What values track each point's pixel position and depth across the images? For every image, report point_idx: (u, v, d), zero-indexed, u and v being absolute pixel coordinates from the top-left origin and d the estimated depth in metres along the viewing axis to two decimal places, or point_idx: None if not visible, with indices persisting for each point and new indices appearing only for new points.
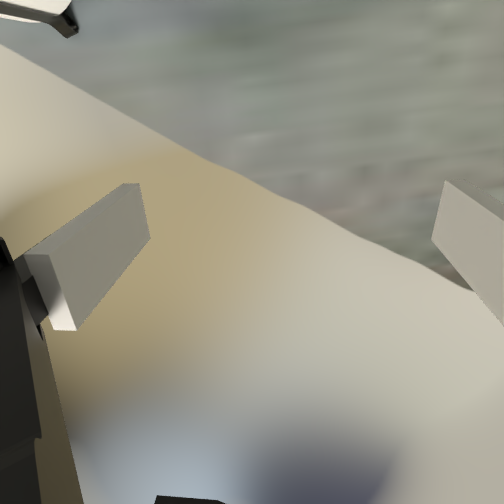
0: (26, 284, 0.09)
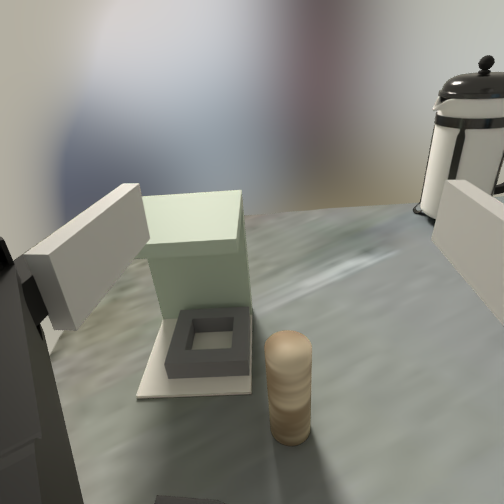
0: (26, 284, 0.09)
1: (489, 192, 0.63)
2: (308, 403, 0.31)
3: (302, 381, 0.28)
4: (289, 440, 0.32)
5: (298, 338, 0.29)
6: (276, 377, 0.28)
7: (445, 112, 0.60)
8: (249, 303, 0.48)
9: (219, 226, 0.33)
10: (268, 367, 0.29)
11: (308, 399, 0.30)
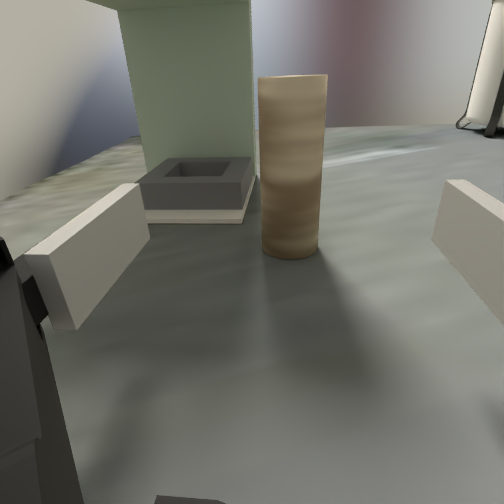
0: (26, 284, 0.09)
1: None
2: (317, 183, 0.21)
3: (309, 121, 0.19)
4: (286, 246, 0.23)
5: None
6: (271, 114, 0.19)
7: None
8: (252, 158, 0.39)
9: None
10: (261, 103, 0.19)
11: (317, 173, 0.21)
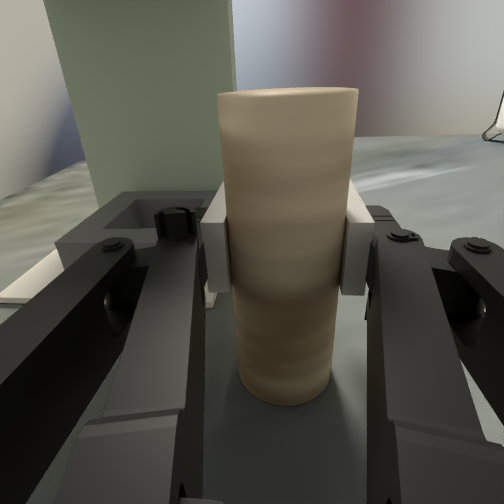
0: (201, 249, 0.11)
1: None
2: (333, 287, 0.11)
3: (322, 185, 0.09)
4: (278, 388, 0.13)
5: (318, 88, 0.10)
6: (243, 170, 0.09)
7: None
8: None
9: None
10: (224, 145, 0.10)
11: (335, 272, 0.11)
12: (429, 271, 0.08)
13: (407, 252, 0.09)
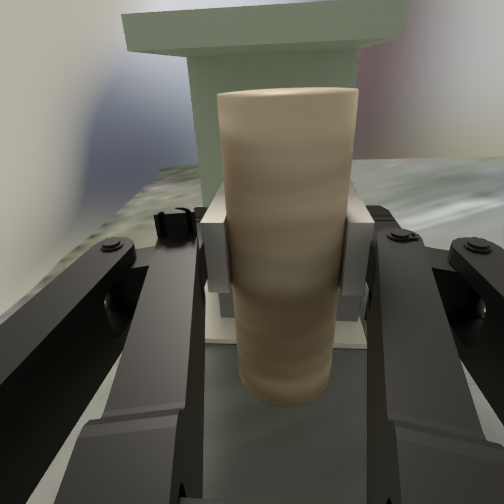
0: (201, 249, 0.11)
1: None
2: (333, 287, 0.11)
3: (322, 185, 0.09)
4: (279, 388, 0.13)
5: (318, 88, 0.10)
6: (243, 170, 0.09)
7: None
8: None
9: None
10: (224, 145, 0.10)
11: (335, 272, 0.11)
12: (429, 271, 0.08)
13: (407, 252, 0.09)
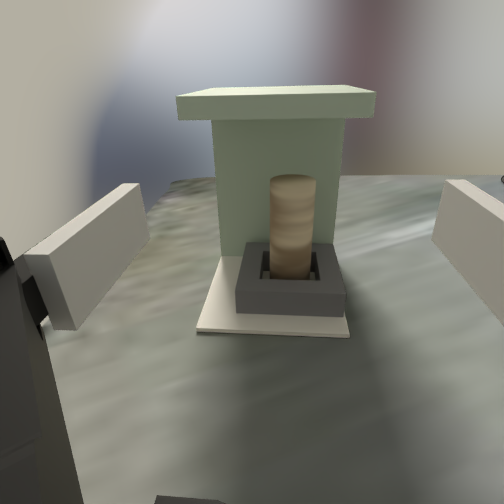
0: (26, 284, 0.09)
1: None
2: (308, 247, 0.31)
3: (304, 211, 0.29)
4: None
5: (303, 177, 0.30)
6: (278, 206, 0.29)
7: None
8: (331, 242, 0.39)
9: (342, 90, 0.24)
10: (272, 197, 0.29)
11: (309, 241, 0.31)
12: None
13: None
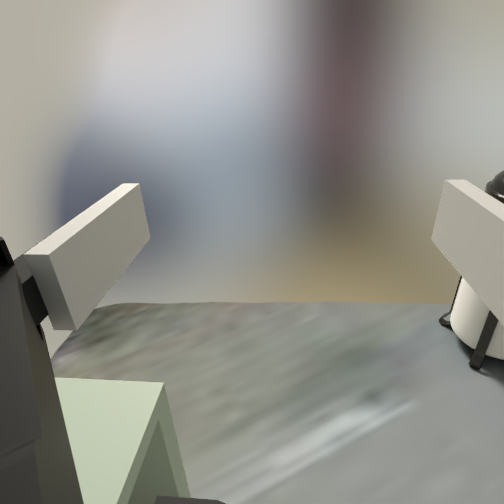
0: (26, 284, 0.09)
1: None
2: None
3: None
4: None
5: None
6: None
7: None
8: None
9: None
10: None
11: None
12: None
13: None
